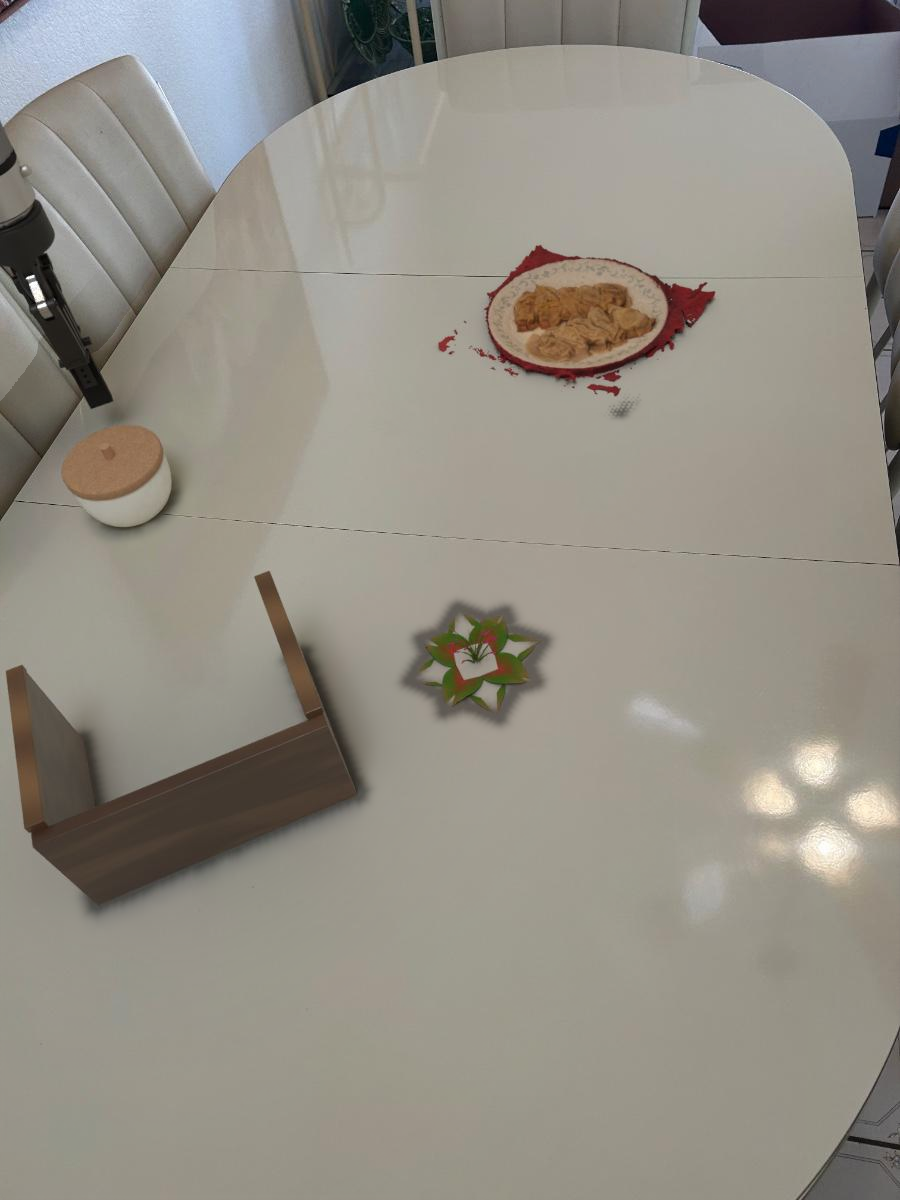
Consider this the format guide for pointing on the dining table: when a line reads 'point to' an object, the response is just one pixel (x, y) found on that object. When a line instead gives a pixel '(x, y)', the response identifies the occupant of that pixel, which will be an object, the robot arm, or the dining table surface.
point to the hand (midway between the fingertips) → (101, 401)
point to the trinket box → (119, 475)
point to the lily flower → (480, 634)
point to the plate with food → (584, 316)
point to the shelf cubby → (170, 787)
